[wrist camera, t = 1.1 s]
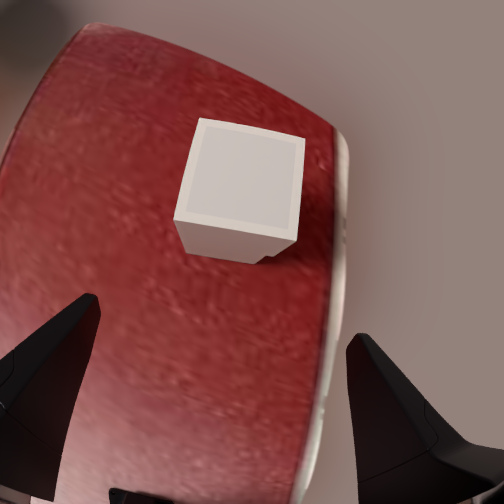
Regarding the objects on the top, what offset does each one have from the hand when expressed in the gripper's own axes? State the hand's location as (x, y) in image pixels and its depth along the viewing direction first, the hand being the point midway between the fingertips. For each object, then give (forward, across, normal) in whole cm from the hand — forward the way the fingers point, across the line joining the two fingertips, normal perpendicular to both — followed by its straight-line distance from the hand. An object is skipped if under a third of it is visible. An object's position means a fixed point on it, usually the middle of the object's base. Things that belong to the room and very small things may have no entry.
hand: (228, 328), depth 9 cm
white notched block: (+14, 0, +4) cm, 15 cm away
